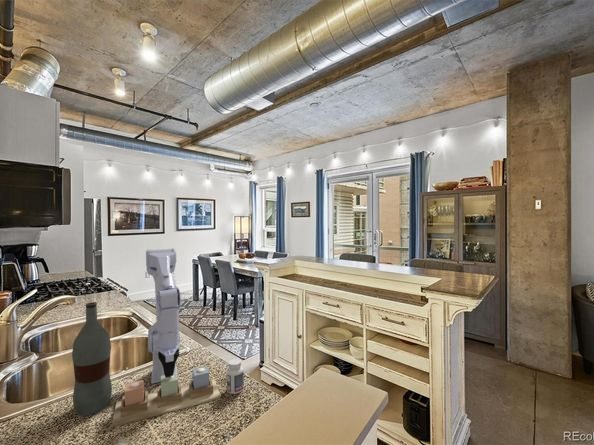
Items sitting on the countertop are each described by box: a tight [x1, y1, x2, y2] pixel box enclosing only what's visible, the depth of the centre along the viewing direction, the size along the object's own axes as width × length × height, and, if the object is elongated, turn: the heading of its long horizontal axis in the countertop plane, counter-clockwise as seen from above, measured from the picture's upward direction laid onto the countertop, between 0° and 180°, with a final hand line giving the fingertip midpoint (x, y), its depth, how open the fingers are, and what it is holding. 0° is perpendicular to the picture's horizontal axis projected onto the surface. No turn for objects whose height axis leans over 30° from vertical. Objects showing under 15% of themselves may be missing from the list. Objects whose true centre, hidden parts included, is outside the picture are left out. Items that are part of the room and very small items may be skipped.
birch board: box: [111, 375, 222, 428], centre depth 87 cm, size 11×28×3 cm, turn 116°
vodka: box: [71, 301, 113, 417], centre depth 84 cm, size 9×9×30 cm
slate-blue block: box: [192, 365, 210, 389], centre depth 90 cm, size 4×4×5 cm
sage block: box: [160, 372, 179, 398], centre depth 87 cm, size 4×4×5 cm
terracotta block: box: [124, 379, 145, 407], centre depth 83 cm, size 4×4×5 cm
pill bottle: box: [226, 358, 245, 395], centre depth 92 cm, size 5×5×9 cm
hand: (169, 375), depth 86 cm, fingers closed
